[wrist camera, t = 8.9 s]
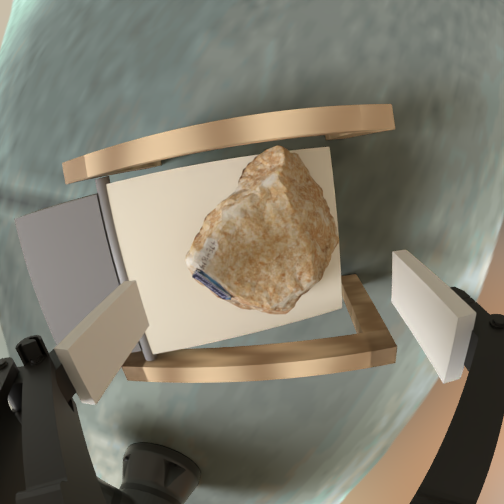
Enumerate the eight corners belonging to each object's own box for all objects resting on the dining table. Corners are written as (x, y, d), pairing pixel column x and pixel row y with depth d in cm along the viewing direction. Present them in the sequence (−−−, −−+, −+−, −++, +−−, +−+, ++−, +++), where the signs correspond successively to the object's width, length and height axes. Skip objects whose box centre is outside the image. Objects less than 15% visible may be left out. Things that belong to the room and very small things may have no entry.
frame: (174, 305, 36) (127, 380, 23) (142, 155, 31) (62, 163, 17) (356, 286, 33) (395, 362, 20) (343, 123, 28) (391, 104, 15)
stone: (170, 252, 21) (169, 274, 16) (273, 137, 20) (298, 130, 16) (257, 320, 24) (275, 352, 19) (348, 218, 23) (383, 229, 19)
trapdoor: (82, 342, 26) (69, 372, 21) (38, 198, 22) (10, 205, 17) (318, 291, 30) (342, 313, 25) (302, 143, 26) (329, 139, 21)
